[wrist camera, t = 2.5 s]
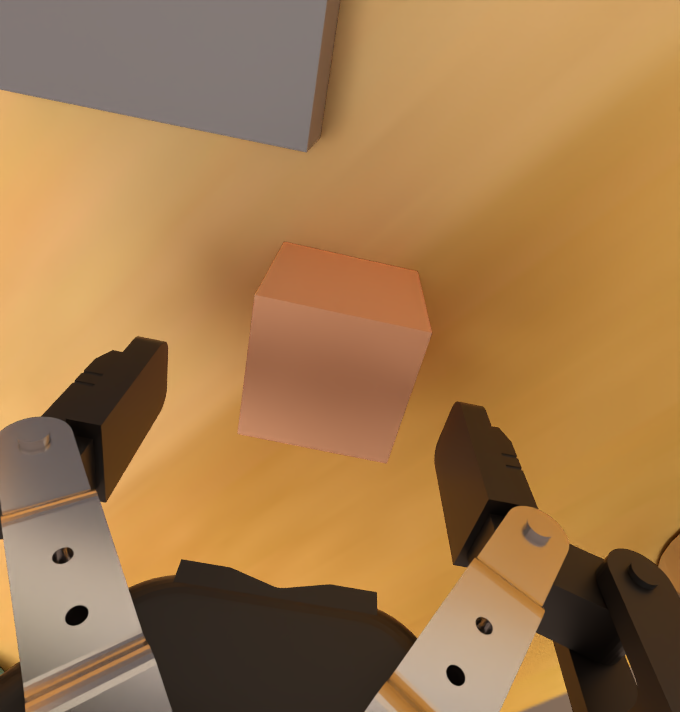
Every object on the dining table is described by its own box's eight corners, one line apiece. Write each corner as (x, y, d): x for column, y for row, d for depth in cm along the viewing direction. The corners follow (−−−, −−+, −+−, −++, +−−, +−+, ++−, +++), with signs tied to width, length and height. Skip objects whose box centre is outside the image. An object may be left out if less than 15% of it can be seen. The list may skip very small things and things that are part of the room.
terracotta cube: (417, 270, 18) (432, 332, 13) (383, 380, 20) (386, 463, 16) (284, 241, 17) (254, 294, 13) (267, 356, 20) (237, 433, 15)
